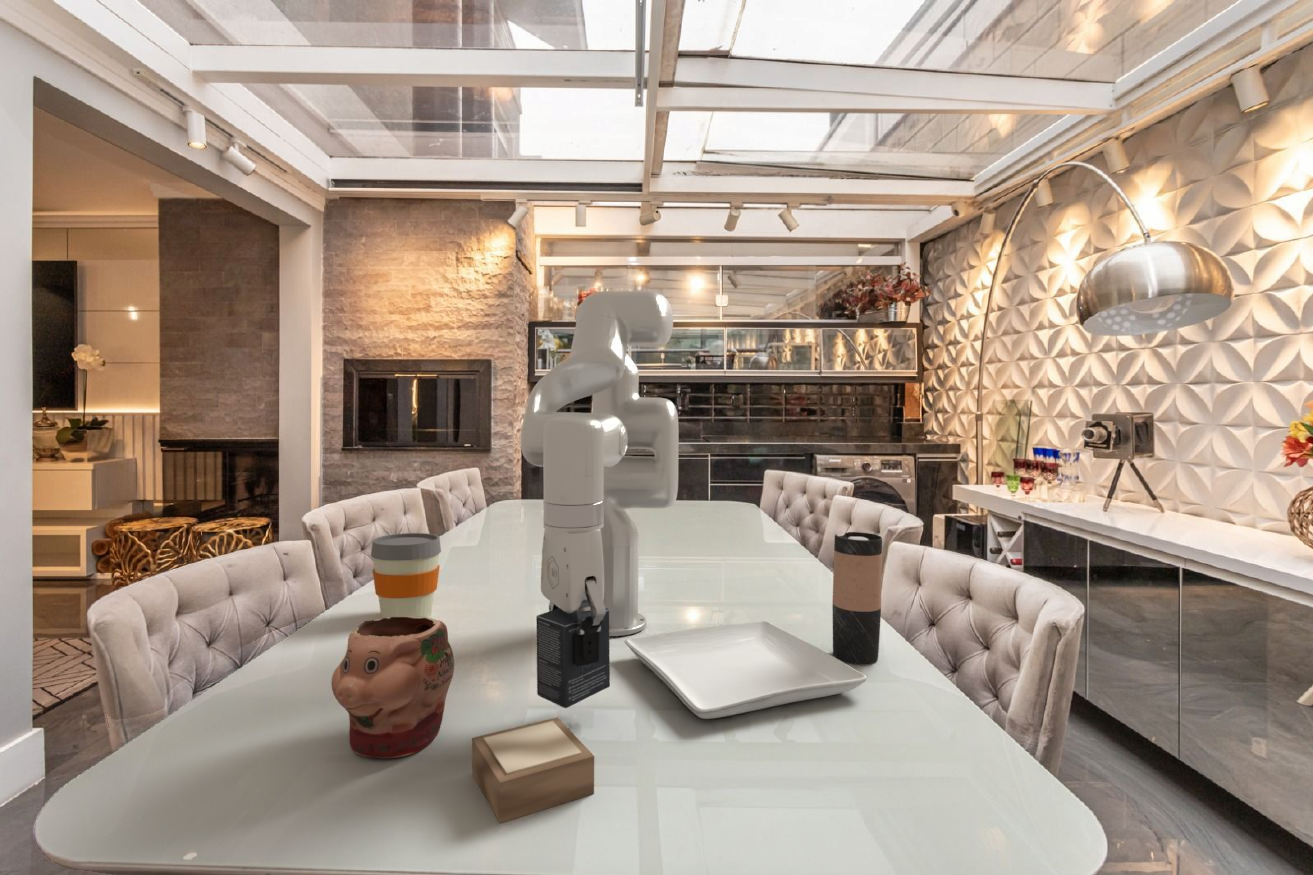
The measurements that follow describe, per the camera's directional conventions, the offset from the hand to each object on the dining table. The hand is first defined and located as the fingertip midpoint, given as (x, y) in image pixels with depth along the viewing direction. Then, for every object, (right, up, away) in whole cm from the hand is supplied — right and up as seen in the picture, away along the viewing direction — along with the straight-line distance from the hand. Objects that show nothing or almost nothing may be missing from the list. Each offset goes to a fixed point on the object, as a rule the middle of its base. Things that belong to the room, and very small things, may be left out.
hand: (573, 651), depth 84 cm
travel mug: (+43, -9, +24) cm, 50 cm away
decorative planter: (-21, -9, -3) cm, 23 cm away
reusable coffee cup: (-37, -7, +42) cm, 57 cm away
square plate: (+23, -9, +16) cm, 29 cm away
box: (0, -6, 0) cm, 6 cm away
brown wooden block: (-3, -10, -14) cm, 17 cm away
